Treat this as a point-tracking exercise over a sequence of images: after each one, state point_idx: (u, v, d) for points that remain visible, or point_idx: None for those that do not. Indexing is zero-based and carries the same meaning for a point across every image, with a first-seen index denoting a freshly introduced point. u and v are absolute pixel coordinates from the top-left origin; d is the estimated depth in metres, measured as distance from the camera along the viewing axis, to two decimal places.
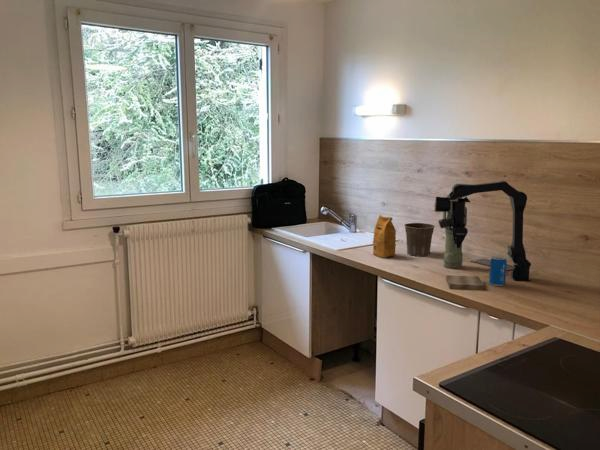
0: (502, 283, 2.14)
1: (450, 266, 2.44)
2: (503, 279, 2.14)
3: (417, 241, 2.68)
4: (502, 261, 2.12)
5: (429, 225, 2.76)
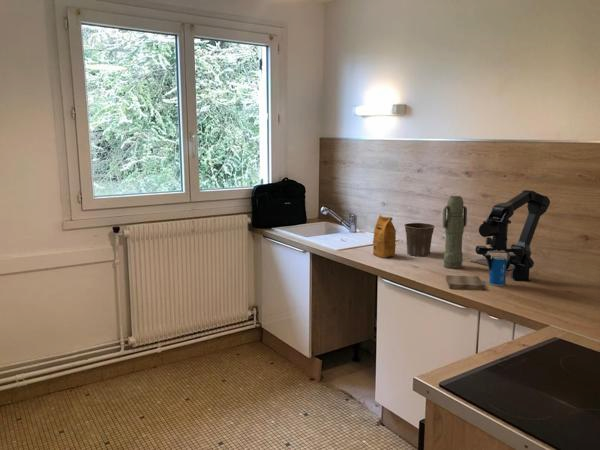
0: (502, 283, 2.14)
1: (450, 266, 2.44)
2: (503, 279, 2.14)
3: (417, 241, 2.68)
4: (502, 261, 2.12)
5: (429, 225, 2.76)
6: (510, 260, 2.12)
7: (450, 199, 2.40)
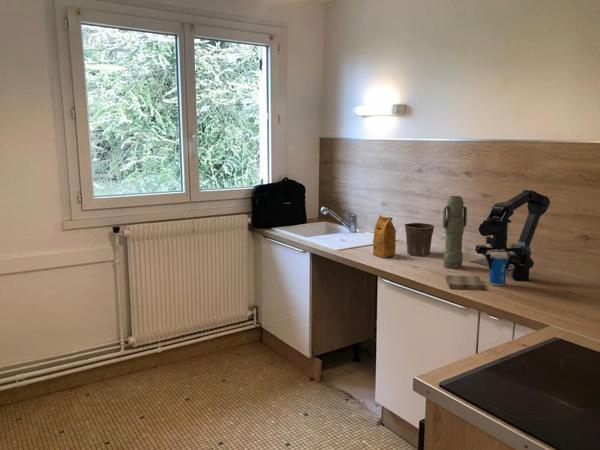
0: (502, 282, 2.14)
1: (450, 266, 2.44)
2: (503, 278, 2.13)
3: (417, 241, 2.68)
4: (502, 260, 2.12)
5: (429, 225, 2.76)
6: (510, 259, 2.12)
7: (450, 199, 2.40)
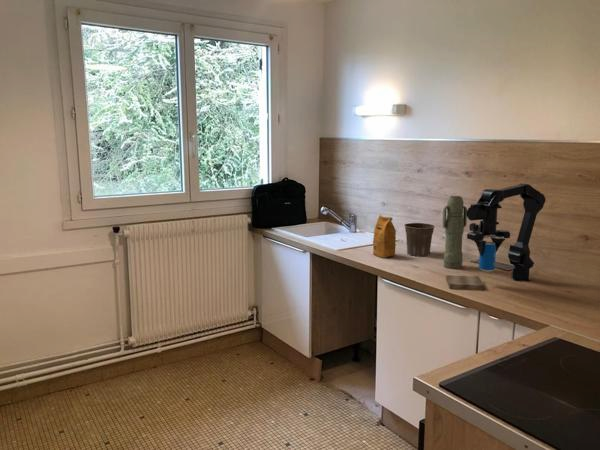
0: (494, 268, 2.13)
1: (450, 266, 2.44)
2: (494, 264, 2.13)
3: (417, 241, 2.68)
4: (494, 246, 2.12)
5: (429, 225, 2.76)
6: (499, 244, 2.13)
7: (450, 199, 2.40)
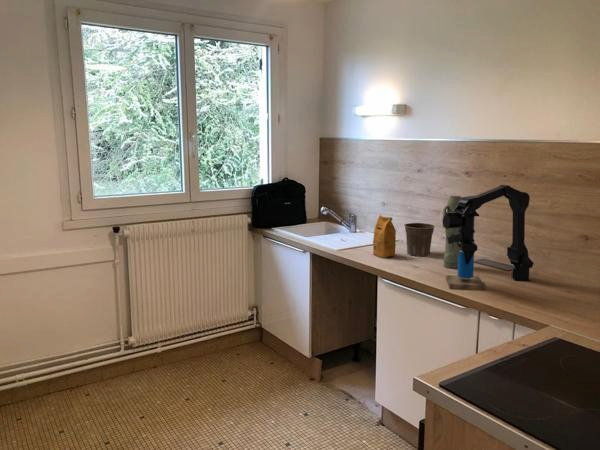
0: None
1: (450, 266, 2.44)
2: None
3: (417, 241, 2.68)
4: None
5: (429, 225, 2.76)
6: None
7: (450, 199, 2.40)
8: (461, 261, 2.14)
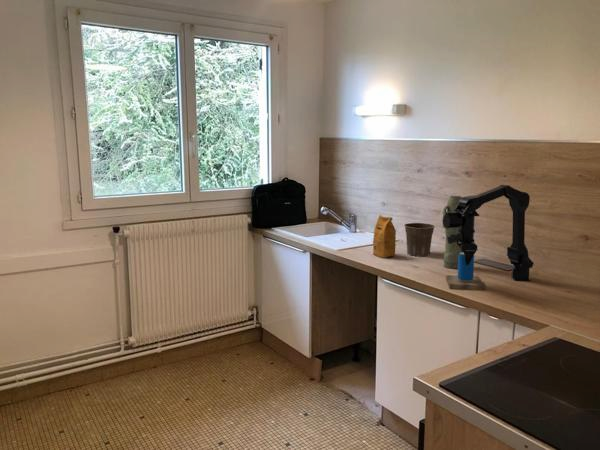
0: None
1: (450, 266, 2.44)
2: None
3: (417, 241, 2.68)
4: None
5: (429, 225, 2.76)
6: None
7: (450, 199, 2.40)
8: (461, 264, 2.14)
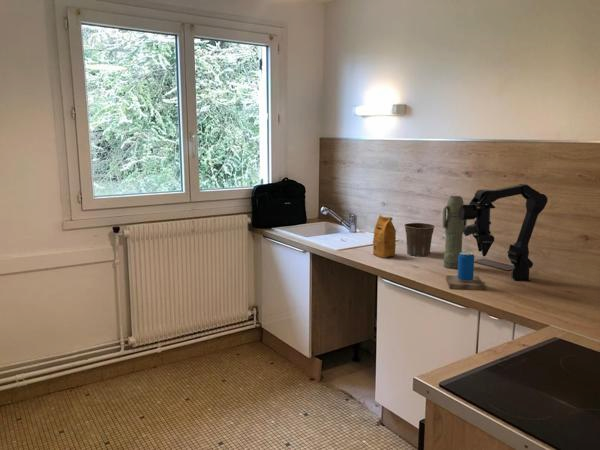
0: None
1: (450, 266, 2.44)
2: None
3: (417, 241, 2.68)
4: None
5: (429, 225, 2.76)
6: None
7: (450, 199, 2.40)
8: (461, 264, 2.14)
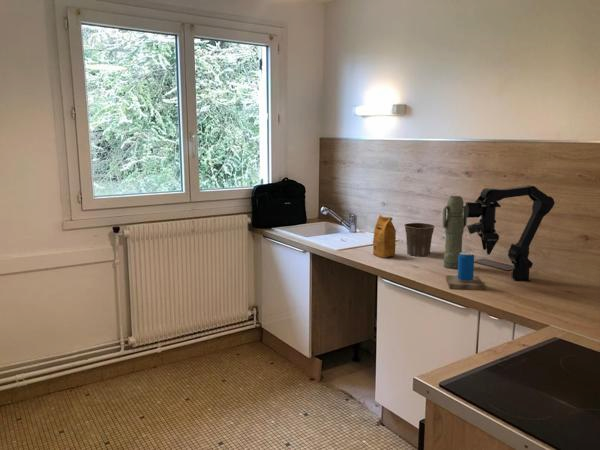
0: None
1: (450, 266, 2.44)
2: None
3: (417, 241, 2.68)
4: None
5: (429, 225, 2.76)
6: None
7: (450, 199, 2.40)
8: (461, 264, 2.14)
